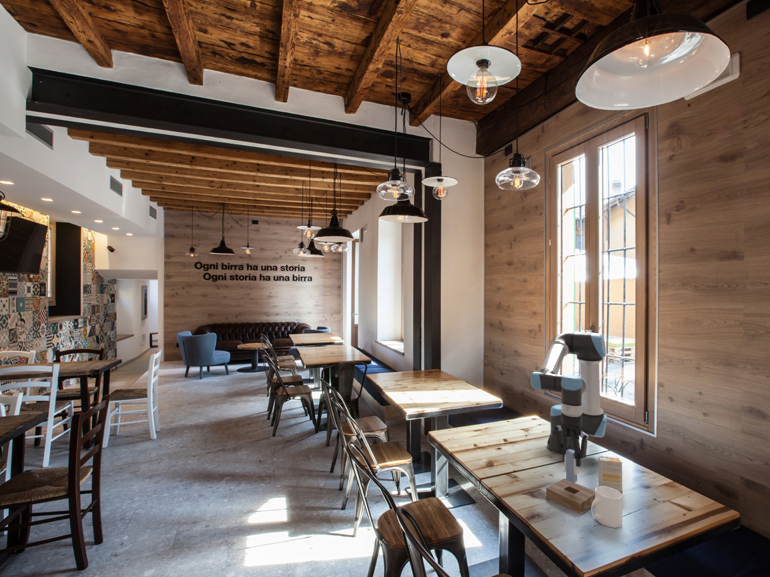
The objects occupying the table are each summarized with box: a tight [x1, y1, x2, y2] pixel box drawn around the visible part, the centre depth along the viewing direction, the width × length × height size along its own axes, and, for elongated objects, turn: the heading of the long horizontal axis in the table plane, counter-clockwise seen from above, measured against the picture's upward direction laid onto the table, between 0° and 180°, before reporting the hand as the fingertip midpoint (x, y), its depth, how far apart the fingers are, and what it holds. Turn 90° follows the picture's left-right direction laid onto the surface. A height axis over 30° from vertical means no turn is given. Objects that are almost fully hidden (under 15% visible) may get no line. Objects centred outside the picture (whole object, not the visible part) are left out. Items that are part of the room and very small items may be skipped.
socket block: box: [545, 477, 595, 515], centre depth 150 cm, size 14×14×4 cm
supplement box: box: [597, 455, 623, 494], centre depth 158 cm, size 8×5×13 cm, turn 71°
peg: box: [565, 449, 578, 483], centre depth 150 cm, size 3×3×12 cm
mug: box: [590, 485, 623, 529], centre depth 135 cm, size 9×12×11 cm
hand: (571, 471), depth 150 cm, fingers closed on peg, 3 cm apart
